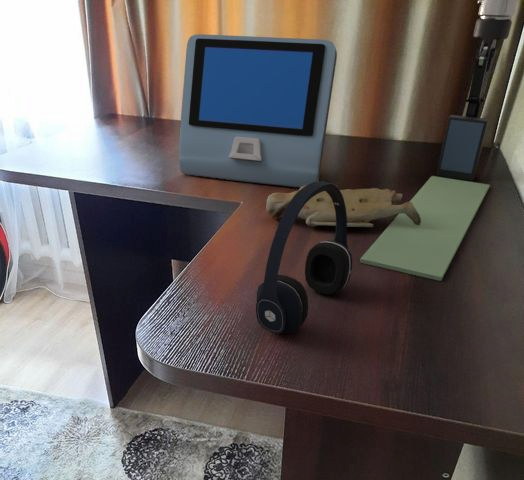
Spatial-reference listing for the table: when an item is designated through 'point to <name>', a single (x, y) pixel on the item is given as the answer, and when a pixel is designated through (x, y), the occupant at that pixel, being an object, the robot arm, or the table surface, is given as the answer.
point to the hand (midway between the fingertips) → (468, 130)
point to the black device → (462, 147)
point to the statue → (357, 207)
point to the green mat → (429, 229)
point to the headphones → (316, 267)
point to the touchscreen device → (256, 108)
